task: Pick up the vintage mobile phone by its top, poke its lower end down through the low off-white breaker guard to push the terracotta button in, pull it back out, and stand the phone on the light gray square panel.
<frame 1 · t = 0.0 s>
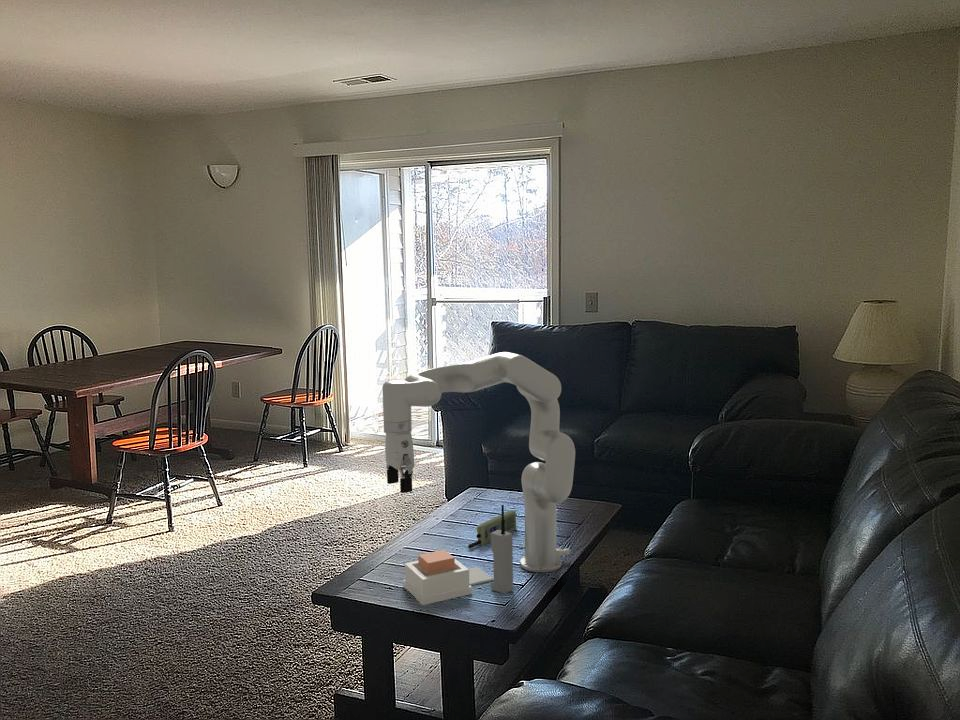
hand: (399, 487, 219), 31 cm above the table, tool pointing down, fingers open, 9 cm apart
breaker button: (436, 561, 226), point 8 cm above the table, slide at 0.0 cm
breaker guard: (437, 590, 227), on the table
light gray square panel: (470, 577, 235), on the table
handheld radio: (492, 539, 267), on the table
vintage mobile phone: (502, 590, 226), on the table
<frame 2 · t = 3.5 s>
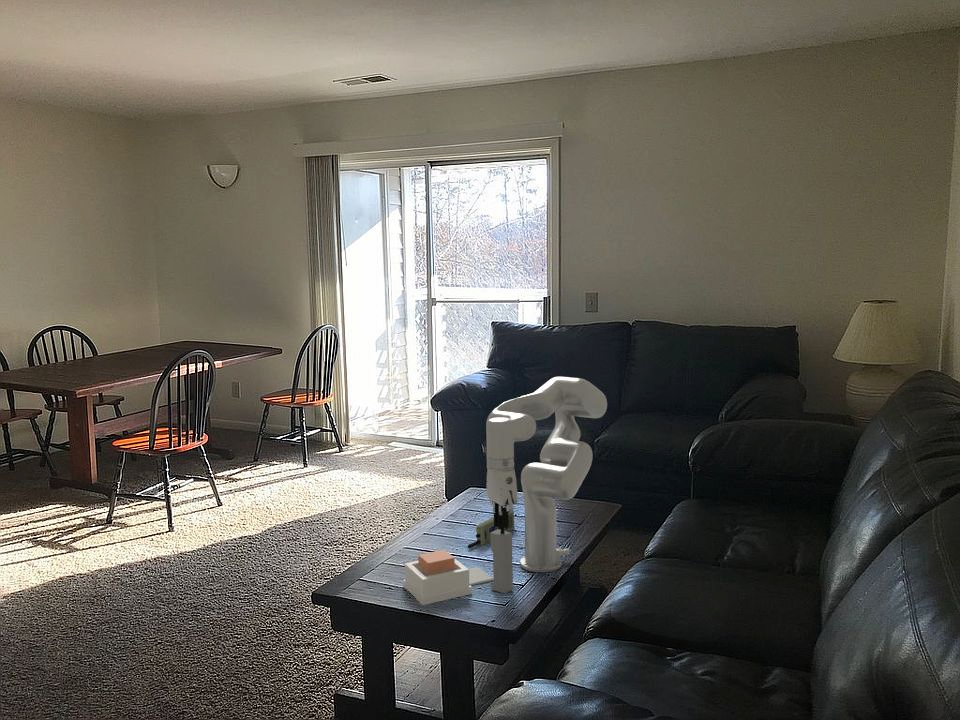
hand: (501, 526, 224), 19 cm above the table, tool pointing down, fingers closed
vintage mobile phone: (502, 590, 226), on the table, touching gripper
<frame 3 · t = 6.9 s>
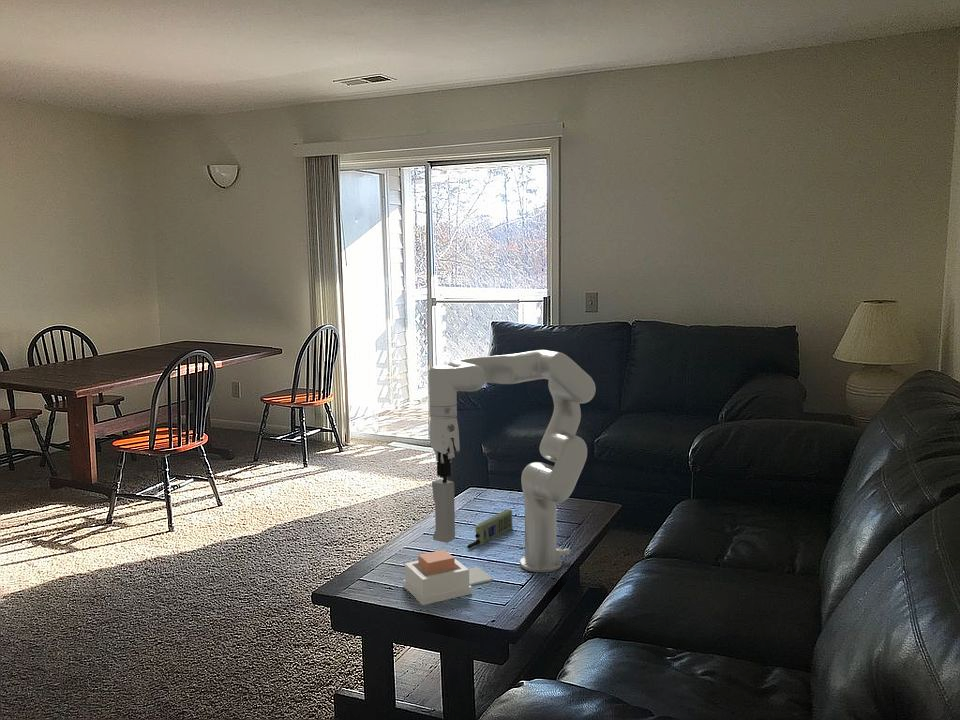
hand: (443, 475, 222), 33 cm above the table, tool pointing down, fingers closed on vintage mobile phone
vintage mobile phone: (444, 540, 225), point 15 cm above the table, touching gripper
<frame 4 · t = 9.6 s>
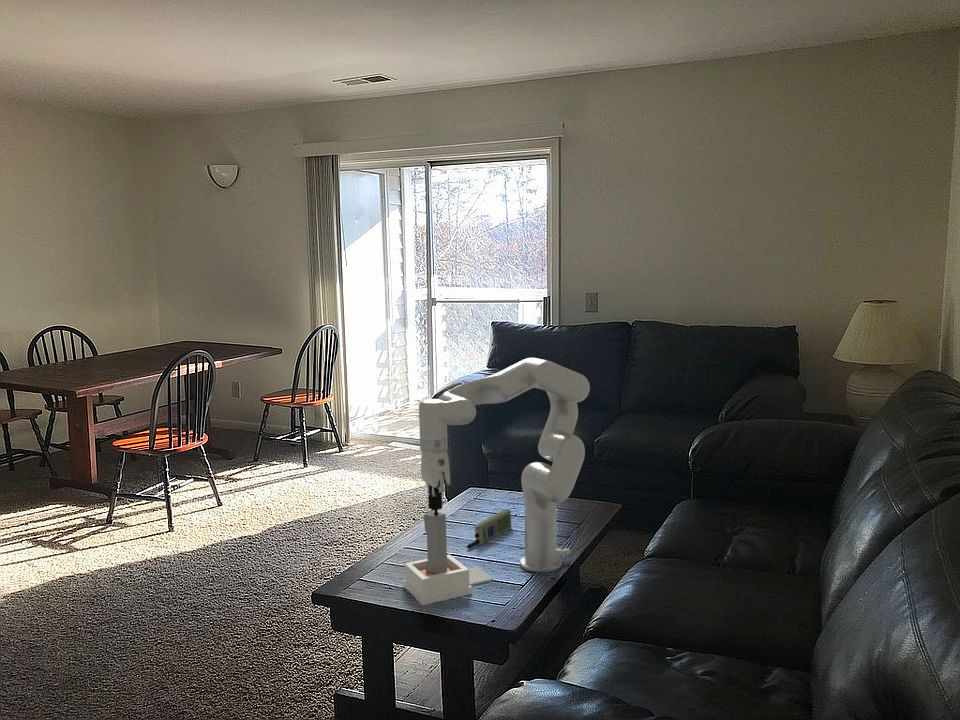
hand: (435, 508, 224), 24 cm above the table, tool pointing down, fingers closed on vintage mobile phone
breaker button: (436, 577, 226), point 4 cm above the table, slide at 4.6 cm, touching vintage mobile phone
vintage mobile phone: (436, 571, 227), point 5 cm above the table, touching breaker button, gripper
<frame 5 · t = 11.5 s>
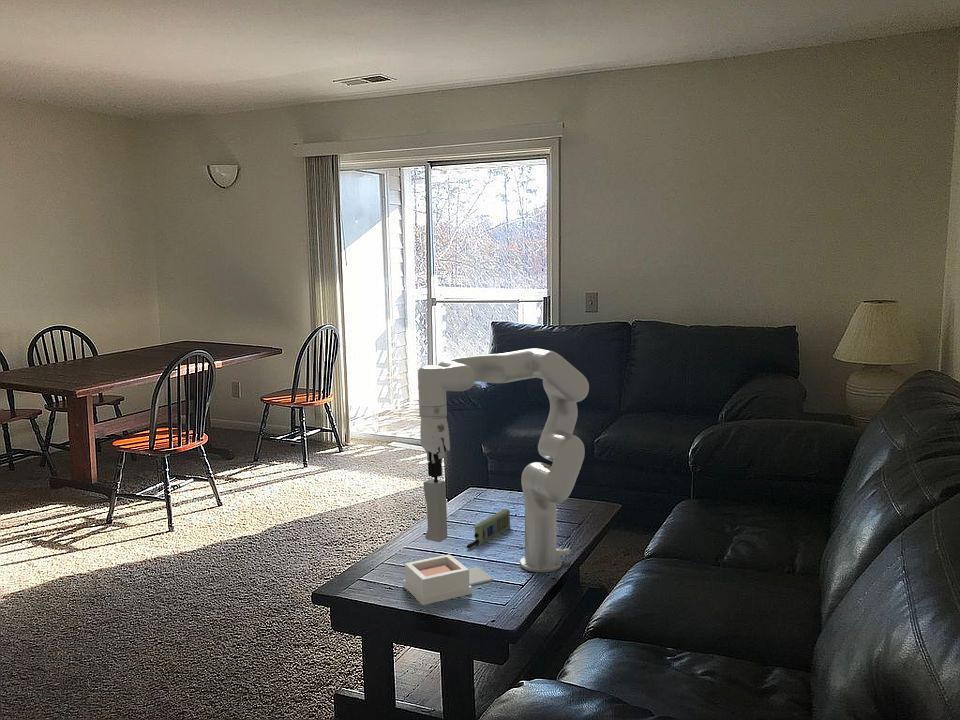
hand: (435, 475, 222), 33 cm above the table, tool pointing down, fingers closed on vintage mobile phone
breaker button: (436, 577, 226), point 4 cm above the table, slide at 4.6 cm
vintage mobile phone: (436, 539, 225), point 15 cm above the table, touching gripper
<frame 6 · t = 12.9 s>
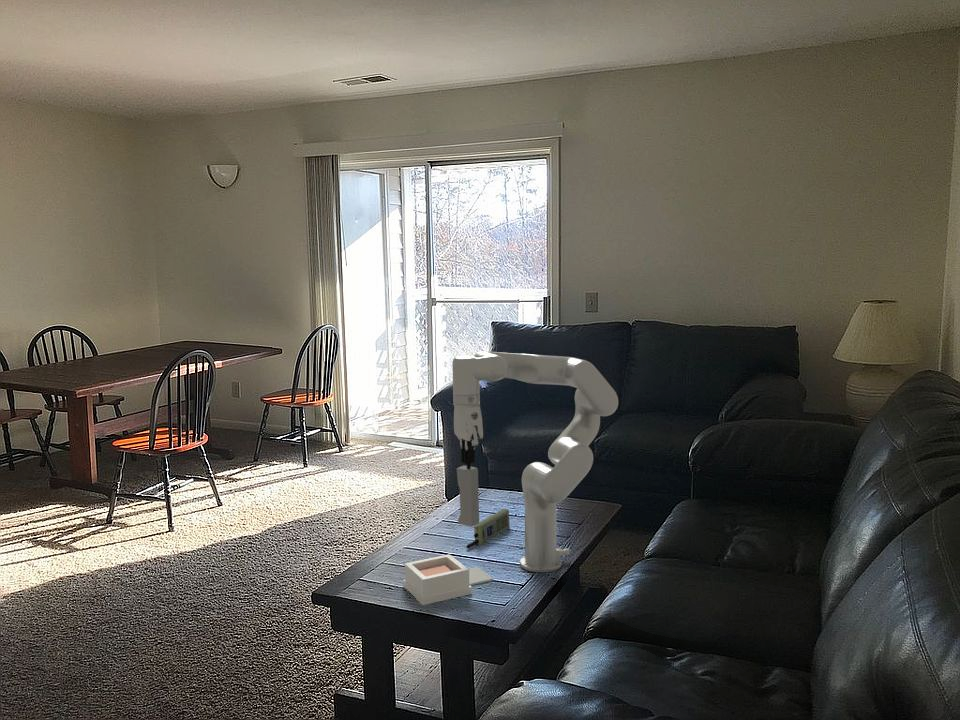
hand: (468, 462, 230), 35 cm above the table, tool pointing down, fingers closed on vintage mobile phone
vintage mobile phone: (468, 524, 233), point 16 cm above the table, touching gripper
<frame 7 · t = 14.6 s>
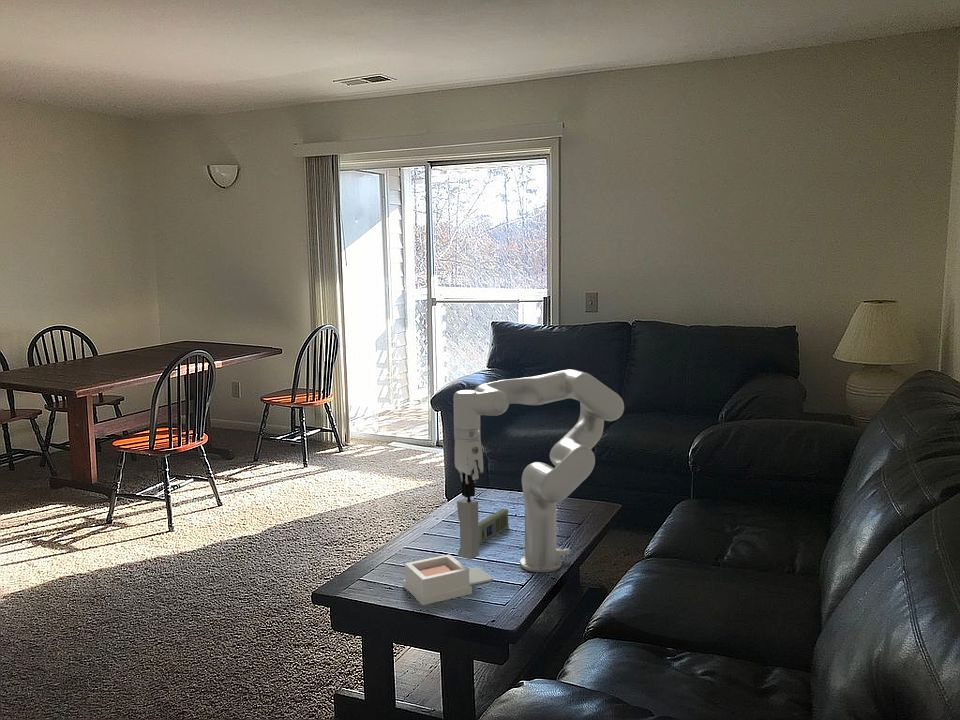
hand: (468, 495, 231), 25 cm above the table, tool pointing down, fingers closed on vintage mobile phone
vintage mobile phone: (468, 557, 234), point 6 cm above the table, touching gripper
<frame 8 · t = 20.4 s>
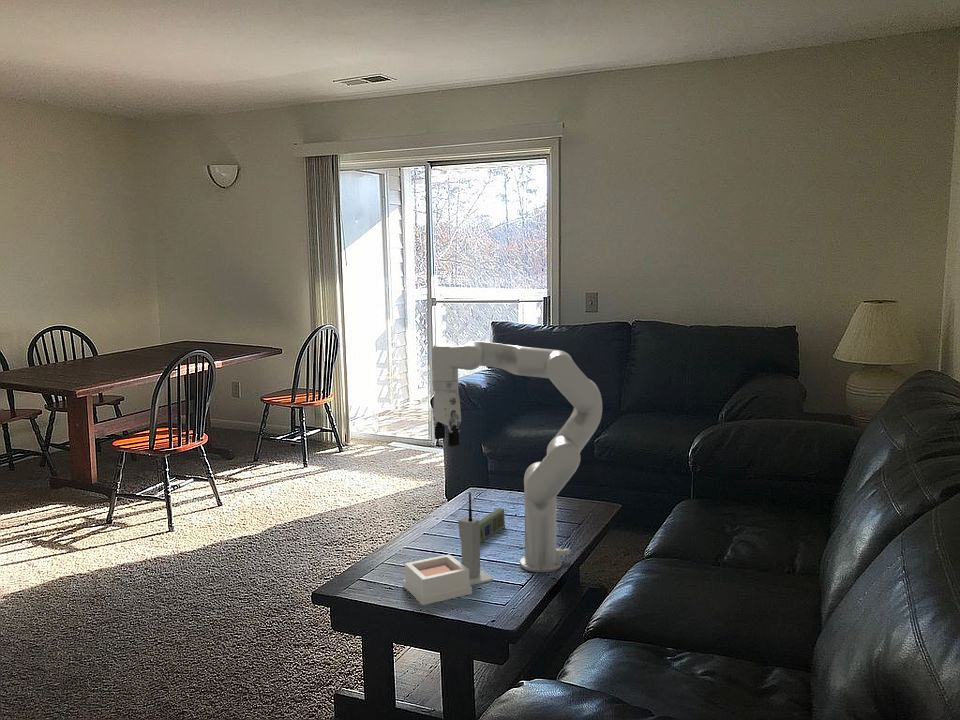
hand: (446, 442, 240), 38 cm above the table, tool pointing down, fingers open, 9 cm apart
vintage mobile phone: (469, 575, 235), resting on light gray square panel
at the end: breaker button slide at 4.6 cm; vintage mobile phone inside the target area on the light gray square panel (0.5 cm from its centre), point 0.4 cm above the light gray square panel's base; vintage mobile phone tilted 0° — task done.
